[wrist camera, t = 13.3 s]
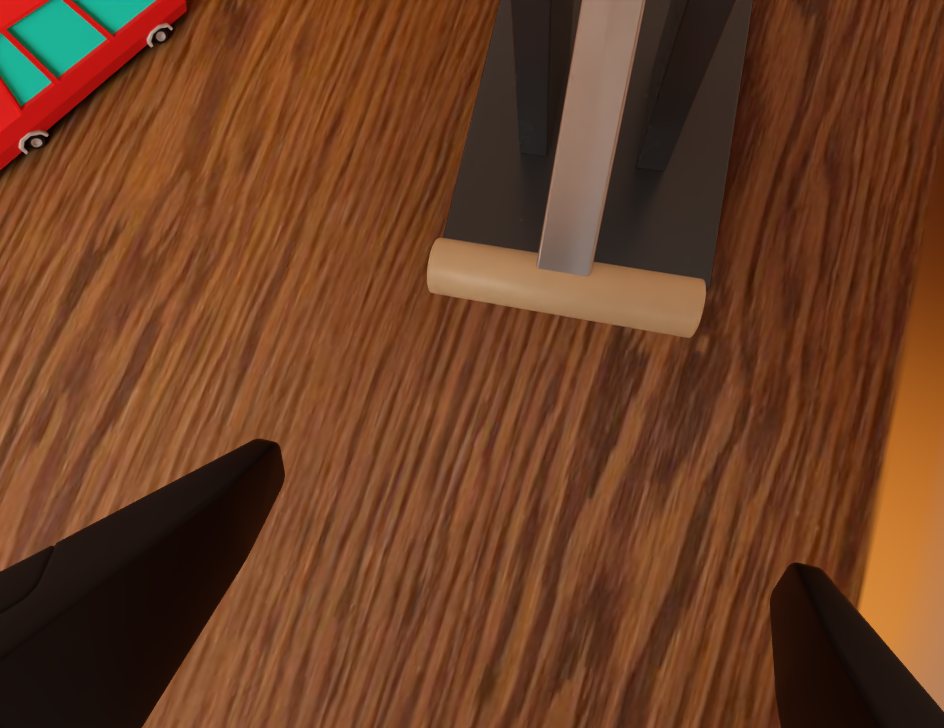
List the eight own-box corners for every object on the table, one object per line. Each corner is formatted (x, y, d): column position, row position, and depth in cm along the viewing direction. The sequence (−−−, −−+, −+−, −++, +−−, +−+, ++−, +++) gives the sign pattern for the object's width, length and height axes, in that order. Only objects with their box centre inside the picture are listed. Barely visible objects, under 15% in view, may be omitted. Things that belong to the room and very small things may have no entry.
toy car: (-82, 108, 24) (-200, 38, 21) (122, -64, 25) (45, -164, 21) (-13, 201, 23) (-127, 145, 19) (202, 17, 24) (134, -75, 20)
